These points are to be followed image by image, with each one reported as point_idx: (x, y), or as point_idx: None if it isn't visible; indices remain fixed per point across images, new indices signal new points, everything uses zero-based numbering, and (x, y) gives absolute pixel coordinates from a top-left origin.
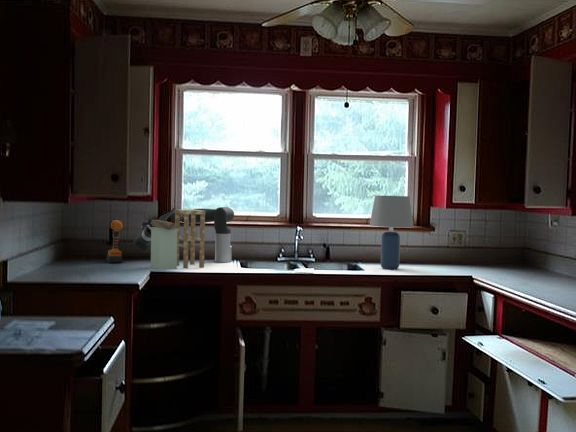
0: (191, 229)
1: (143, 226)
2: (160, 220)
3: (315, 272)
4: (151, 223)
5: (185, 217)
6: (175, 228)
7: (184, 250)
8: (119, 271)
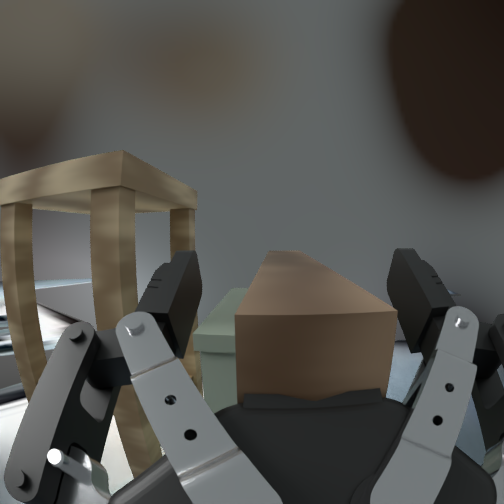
0: (33, 331)
1: (492, 387)
2: (255, 279)
3: (54, 327)
4: (389, 459)
5: (194, 227)
6: (234, 292)
7: (201, 389)
8: (460, 433)
